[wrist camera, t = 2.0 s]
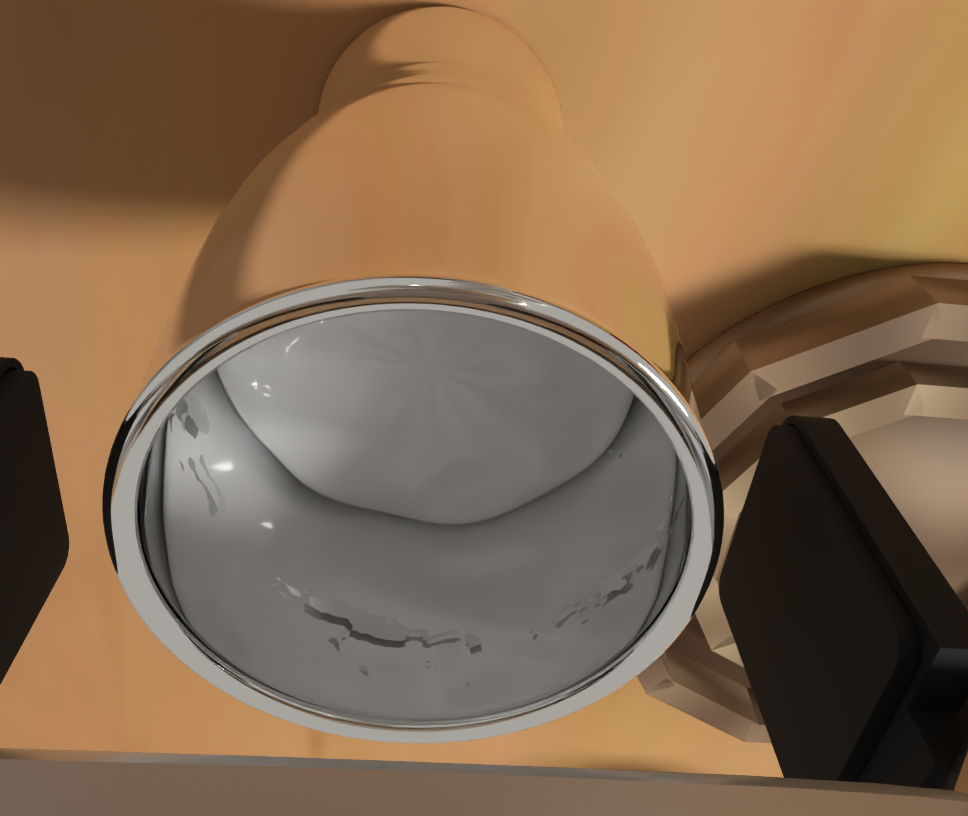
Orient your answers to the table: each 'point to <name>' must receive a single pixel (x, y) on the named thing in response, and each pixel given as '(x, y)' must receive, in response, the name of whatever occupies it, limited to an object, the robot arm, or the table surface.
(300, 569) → the beer glass
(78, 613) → the table surface
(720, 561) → the tray
